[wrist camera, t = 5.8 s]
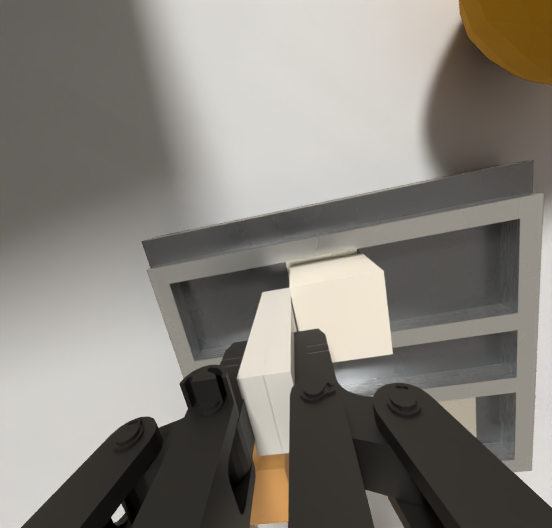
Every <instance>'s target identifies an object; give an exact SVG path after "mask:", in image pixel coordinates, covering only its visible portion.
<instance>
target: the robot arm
mask: <svg viewBox="0 0 552 528" xmlns="http://www.w3.org/2000/svg"><path fill="white" fill-rule="evenodd" d="M180 387H181V390H182V392H183V395H184V398H185V401H186V404H187V407H188V410H187V412H186V415H185V417H184V418H182V419H180V420H178V421H175V422H172V423H170V424H167V425H165V426H162V427H160V428H158V426H157V424H156V422H155V420H154V419H153V418H151V417H140V418H137V419H134V420H132V421H129V422H128V423H126V424H124V425H123V426H121V427H120V428H118V429H117V430H116V431H115V432H114V433H113V434H112V435H110V436H109V437H108V438H107V440H106V441H105V442H104V443H103V444H102V445H101V446H100V447H99V448H98V449H97V450H96V451H95V452H94V453H93V454H92V455H91V456H90V457H89V458H88V459H87V460H86V461H85V462H84V463H83V464H82V465H81V466H80V467H79V468H78V469H77V470H76V471H75V472H74V474H73V475H72V476H71V477H70V478H69V479H68V480H67V481H66V482H65V483H64V484H63V485H62V486H61V487H60V488H59V489H58V490H57V491H56V492H55V493H54V494H53V495H52V496H51V497H50V498H49V499H48V500H47V501H46V502H45V503H44V504H43V505H42V506H41V507H40V509H39V510H38V511H37V512H36V513H35V514H34V515H33V516H32V517H31V518H30V519H29V520H28V521H27V522H26V523H25V524H24V525H23V526H22V527H21V528H249V527H250V519H251V510H252V502H253V494H254V486H255V478H256V472H255V465H254V462H253V458H252V457H253V450H254V443H255V446H256V449H257V453H258V456H265V455H274V454H284V453H289V504H288V528H374V525H373V520H372V516H371V512H370V508H369V504H368V500H367V496H366V492H365V490H369V491H372V492H376V493H380V494H383V495H387V496H388V499H389V501H390V502H391V504H392V506H393V508H394V510H395V511H396V513H397V515H398V517H399V519H400V521H401V522H402V524H403V526H404V528H552V508H551V507H550V506H549V505H548V504H547V503H546V502H545V501H544V500H543V499H542V498H540V497H539V496H538V495H537V494H536V493H535V492H534V491H533V490H532V489H531V488H530V487H529V486H528V485H526V484H525V483H524V482H523V481H522V480H521V479H520V478H519V477H518V476H517V475H516V474H515V473H513V472H512V471H511V470H510V469H509V468H508V467H507V466H506V465H505V464H504V463H503V462H502V461H501V460H499V459H498V458H497V457H496V456H495V455H494V454H493V453H492V452H491V451H490V450H489V449H488V448H487V447H485V446H484V445H483V444H482V443H481V442H480V441H479V440H478V439H477V438H476V437H475V436H474V435H473V434H471V433H470V432H469V431H468V430H467V429H466V428H465V427H464V426H463V425H462V424H461V423H460V422H458V421H457V420H456V419H455V418H454V417H453V416H452V415H451V414H450V413H449V412H448V411H447V410H446V409H444V408H443V407H442V406H441V405H440V404H439V403H438V402H437V401H436V400H435V399H434V398H433V397H432V396H430V395H429V394H428V393H426V392H425V391H424V390H422V389H421V388H419V387H416V386H413V385H410V384H406V383H391V384H386V385H384V386H382V387H380V388H378V390H377V391H376V392H375V394H374V395H373V397H370V396H362V395H358V394H354V393H351V392H349V391H347V390H346V389H344V388H343V387H342V386H341V385H340V384H339V383H338V381H337V379H336V376H335V372H334V368H333V364H332V359H331V355H330V351H329V347H328V343H327V339H326V335H325V334H324V333H323V332H322V331H321V330H320V329H319V328H318V329H311V330H305V331H298V327H297V322H296V317H295V312H294V307H293V303H292V298H291V293H290V288H284V289H278V290H273V291H267V292H262V296H261V299H260V302H259V306H258V309H257V312H256V316H255V319H254V322H253V326H252V329H251V332H250V336H249V339H248V340H247V341H241V342H234V343H233V344H232V345H231V346H230V347H229V348H228V349H227V350H226V351H225V353H224V356H223V358H222V361H221V363H220V365H208V366H204V367H201V368H199V369H197V370H194V371H193V372H191V373H190V374H189V375H187V376H186V377H185V378H184V379H183V380H182V381H181V383H180ZM120 504H122V506H123V508H124V510H125V514H124V515H123V516H122V517H121V518H120V520H119V521H118V522H115V523H113V521H112V519H111V517H112V515H113V514H114V512H115V511H116V510H117V508H118V507H119V506H120Z"/></svg>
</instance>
